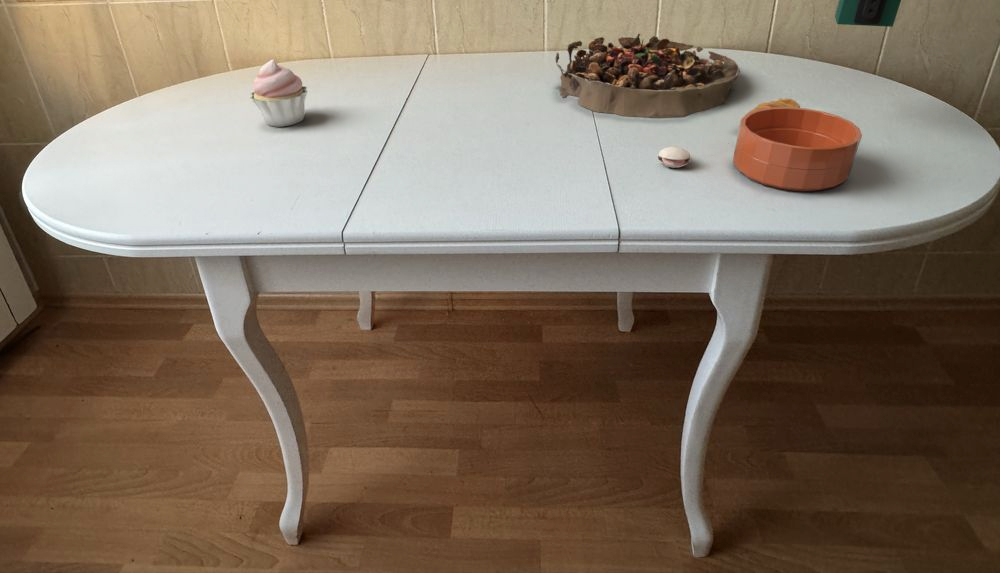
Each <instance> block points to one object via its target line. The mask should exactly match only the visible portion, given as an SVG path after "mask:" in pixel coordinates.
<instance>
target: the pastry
mask: <svg viewBox="0 0 1000 573" xmlns="http://www.w3.org/2000/svg"><path fill="white" fill-rule="evenodd" d="M775 107H793V108H801V105H800V104H799V103H798V102H797V101H796V100H793V99H792V98H778V99H777V100H771V101H769V102H762V103H759V104H758V105H757V106H755V108H753V109H751V110H749V111H748V112H747V113H750V112H753V111H755V110H759V109H766V108H775Z"/></svg>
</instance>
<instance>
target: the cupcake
mask: <svg viewBox="0 0 1000 573" xmlns="http://www.w3.org/2000/svg"><path fill="white" fill-rule="evenodd" d="M307 89H308V87H307V86H303V81H302V79H301V77H299V76H298V75H296V74H295V73H294V72H293V71H292V70H291V69H290V68H287V67H285V66H282V65H279V64H278V63H277V62H276V61H275V60H274V59H271V60H269V61H267V62H266V63H264V64H263V65H262V66H261V68H260V70H259V72H258V75H257V76H256V77H255V78H254V81H253V91H252V92H251V93H250V97H249V99H250V100H251V101H252V102H253V104H254V105H255V106H256V107H257V110H258V111H259V113H260V114H261V116H262V118H263V120H264V122H265V123H266V125H268V126H270V127H276V128H277V127H290V126H293V125H296V124H299V123H300V122H302V121H304V118H305V112H306V110H305V102H306V98H307V95H308V90H307Z"/></svg>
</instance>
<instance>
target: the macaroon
mask: <svg viewBox="0 0 1000 573" xmlns="http://www.w3.org/2000/svg"><path fill="white" fill-rule="evenodd" d="M657 159H658V162H659V163H660V164H662V165H663V166H665V167H666V168H672V169H675V168H678V169H679V168H681V167H684V166H687V165H689V163H690V161H691V153H690V151H689V150H686V149H685V148H683V147H679V146H667V147H665V148H662V149H661V150H660V151H659V153H658V156H657Z"/></svg>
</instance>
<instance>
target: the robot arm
mask: <svg viewBox="0 0 1000 573" xmlns="http://www.w3.org/2000/svg"><path fill="white" fill-rule="evenodd" d="M885 4H886V0H859V3H858V7H857V10H856V14H855V17H854V22H855V23H856V24H878V23H879V22H880V20H881V17H882V13H883V10H884V7H885Z"/></svg>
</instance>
